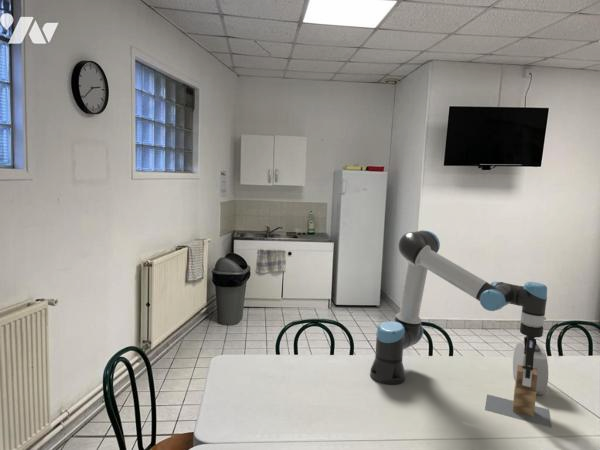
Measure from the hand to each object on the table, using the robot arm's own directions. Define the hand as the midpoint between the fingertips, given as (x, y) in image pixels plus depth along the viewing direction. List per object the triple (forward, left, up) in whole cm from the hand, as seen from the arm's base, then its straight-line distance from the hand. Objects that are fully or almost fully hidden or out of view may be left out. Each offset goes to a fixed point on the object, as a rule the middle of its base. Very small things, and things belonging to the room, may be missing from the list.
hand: (526, 378), depth 160 cm
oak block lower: (0, 0, -13) cm, 13 cm away
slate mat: (-2, 0, -13) cm, 14 cm away
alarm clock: (+2, +25, -14) cm, 29 cm away
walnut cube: (0, 0, -3) cm, 3 cm away
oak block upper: (0, 0, -8) cm, 8 cm away
